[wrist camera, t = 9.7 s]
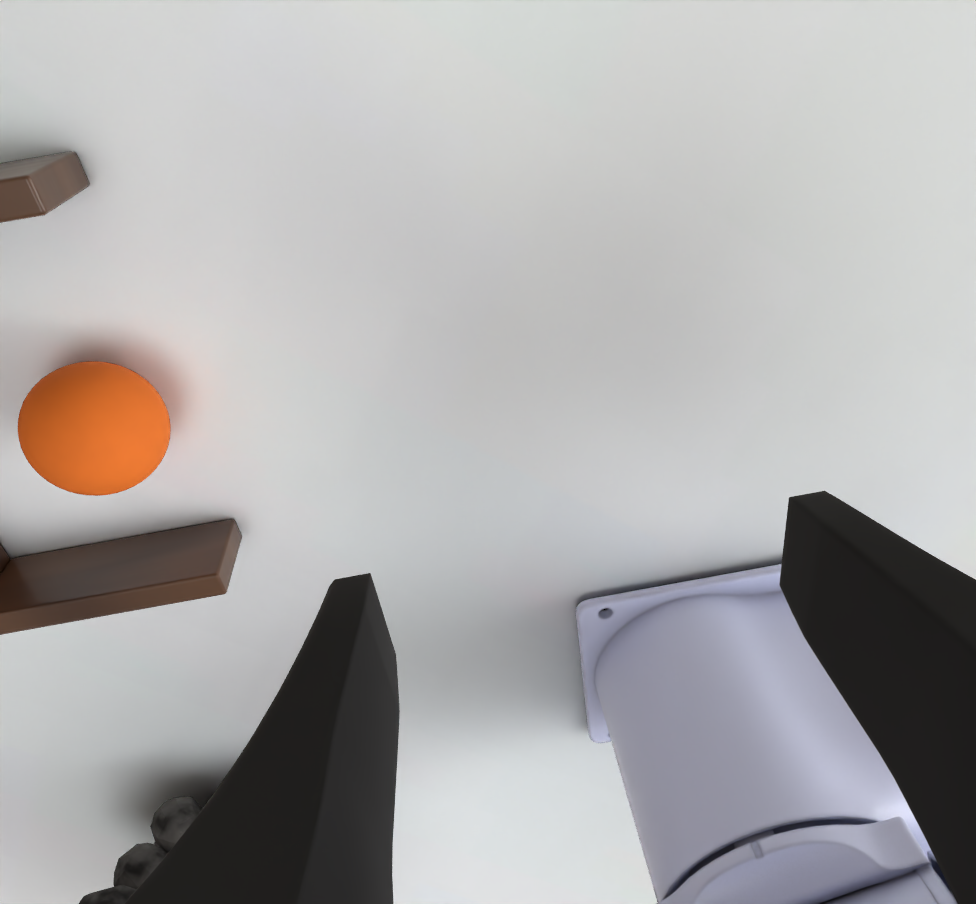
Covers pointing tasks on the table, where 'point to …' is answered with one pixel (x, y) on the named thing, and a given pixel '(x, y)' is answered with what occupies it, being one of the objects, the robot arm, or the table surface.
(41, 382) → the ball
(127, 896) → the fruit
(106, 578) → the brown u-shaped wall
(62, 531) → the table surface
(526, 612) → the table surface
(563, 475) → the table surface
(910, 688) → the robot arm
